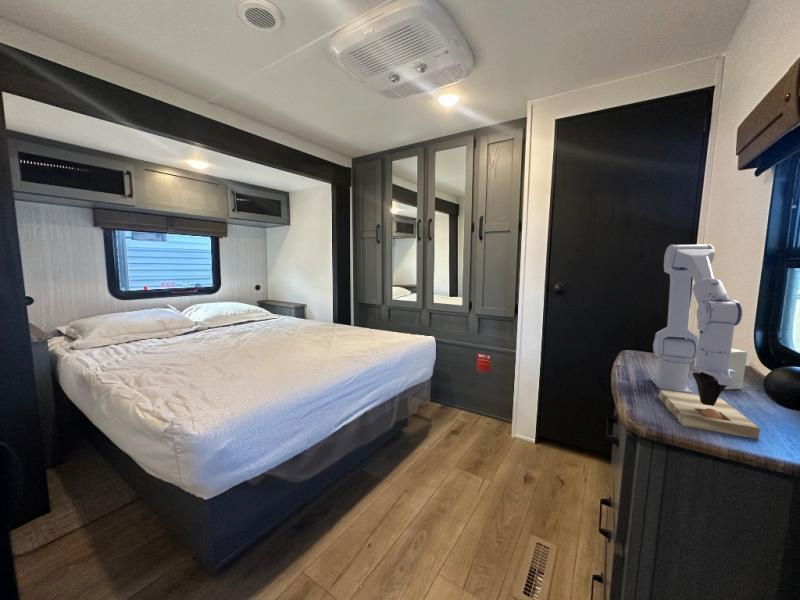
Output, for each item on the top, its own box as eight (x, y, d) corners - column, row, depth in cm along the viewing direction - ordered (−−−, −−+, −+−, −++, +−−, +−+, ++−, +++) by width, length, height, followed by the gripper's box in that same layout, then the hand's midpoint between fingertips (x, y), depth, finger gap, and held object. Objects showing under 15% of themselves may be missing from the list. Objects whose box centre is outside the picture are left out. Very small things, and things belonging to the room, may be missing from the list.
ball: (701, 404, 77) (705, 418, 74) (721, 407, 75) (726, 421, 73) (696, 411, 79) (700, 425, 77) (715, 414, 77) (720, 428, 75)
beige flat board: (658, 397, 91) (659, 389, 91) (719, 406, 86) (720, 397, 85) (682, 425, 75) (683, 415, 75) (758, 439, 69) (760, 428, 69)
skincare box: (727, 384, 102) (731, 347, 101) (743, 389, 98) (748, 351, 97) (710, 384, 102) (714, 348, 100) (725, 390, 97) (730, 351, 96)
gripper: (754, 360, 68) (745, 420, 70) (721, 345, 81) (714, 396, 83) (710, 356, 71) (703, 413, 73) (685, 342, 84) (680, 391, 86)
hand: (707, 404), depth 78 cm, fingers closed
